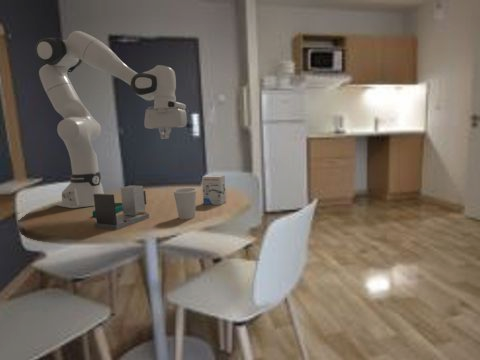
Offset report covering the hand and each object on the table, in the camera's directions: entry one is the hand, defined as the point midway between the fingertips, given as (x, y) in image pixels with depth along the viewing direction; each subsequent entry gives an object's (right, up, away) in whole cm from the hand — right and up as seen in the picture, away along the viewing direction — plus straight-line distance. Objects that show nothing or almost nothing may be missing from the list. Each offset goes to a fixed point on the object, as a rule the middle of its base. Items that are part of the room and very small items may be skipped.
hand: (164, 138), depth 151 cm
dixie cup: (+13, -31, -22) cm, 40 cm away
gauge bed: (-10, -32, -24) cm, 41 cm away
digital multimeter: (-20, -31, -6) cm, 37 cm away
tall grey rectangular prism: (-6, -30, -19) cm, 35 cm away
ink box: (+21, -27, -1) cm, 34 cm away
